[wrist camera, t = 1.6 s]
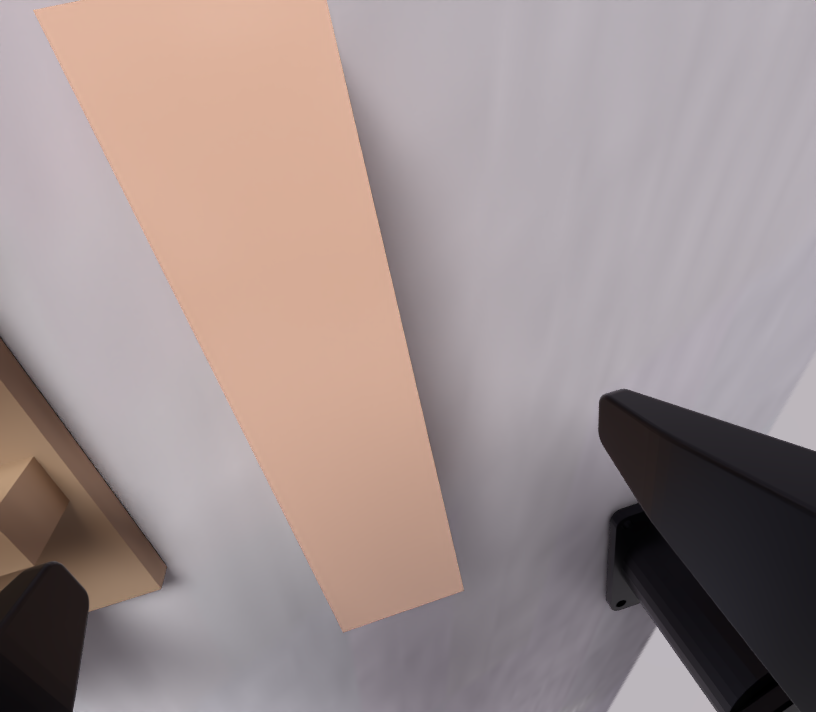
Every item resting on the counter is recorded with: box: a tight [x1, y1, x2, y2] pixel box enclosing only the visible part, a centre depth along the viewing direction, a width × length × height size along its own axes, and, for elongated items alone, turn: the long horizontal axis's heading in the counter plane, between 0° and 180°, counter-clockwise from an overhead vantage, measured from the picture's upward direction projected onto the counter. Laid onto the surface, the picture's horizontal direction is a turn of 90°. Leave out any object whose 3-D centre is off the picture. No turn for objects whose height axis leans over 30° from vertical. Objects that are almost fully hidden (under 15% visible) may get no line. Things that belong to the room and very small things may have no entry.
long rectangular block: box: [33, 0, 464, 633], centre depth 11 cm, size 14×4×4 cm, turn 12°
